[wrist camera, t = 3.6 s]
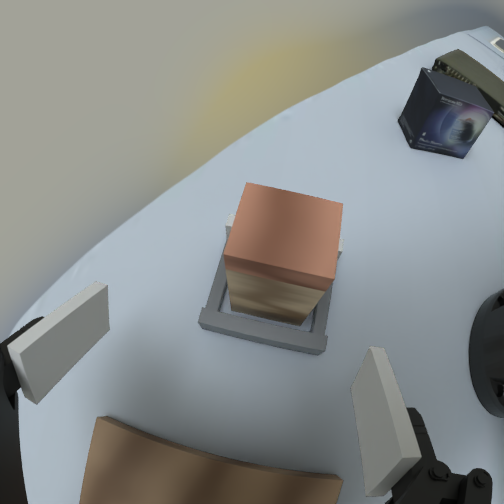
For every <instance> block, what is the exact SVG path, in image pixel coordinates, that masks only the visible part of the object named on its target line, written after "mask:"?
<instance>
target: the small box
mask: <svg viewBox="0 0 504 504" xmlns="http://www.w3.org/2000/svg"><path fill="white" fill-rule="evenodd" d="M493 114H494V111H493V110H492V108H491V107H490V105H489V104H488V103H487V101H486V100H485V98H484V97H483V96H482V94H481V93H480V91H479V90H478V89H477V87H476V86H473V85H471V84H468V83H466V82H463V81H461V80H458V79H455V78H453V77H450V76H447V75H444V74H441V73H439V72H436V71H433V70H430V69H426V68H423V67H422V68H421V71H420V74H419V77H418V79H417V81H416V83H415V86H414V88H413V90H412V92H411V95H410V97H409V99H408V101H407V103H406V105H405V108H404V110H403V112H402V114H401V116H400V117H399V119H398V121H399V124H400V125H401V127H402V130H403V132H404V134H405V136H406V139H407V141H408V143H409V145H410V147H411V148H415V149H421V150H426V151H431V152H435V153H440V154H445V155H449V156H454V157H458V158H462V159H463V158H464V157H465V155H466V154H467V153H468V151H469V150H470V148H471V147H472V145H473V144H474V142H475V141H476V140H477V138H478V137H479V135H480V134H481V132H482V131H483V129H484V128H485V126H486V125H487V123H488V122H489V120H490V119H491V117H492V116H493Z"/></svg>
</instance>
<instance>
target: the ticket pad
mask: <svg viewBox="0 0 504 504" xmlns="http://www.w3.org/2000/svg"><path fill="white" fill-rule="evenodd" d="M342 209H343V204H342V203H338V202H334V201H330V200H326V199H322V198H317V197H313V196H309V195H304V194H300V193H295V192H291V191H286V190H282V189H277V188H272V187H267V186H263V185H258V184H253V183H247V182H246V185H245V188H244V191H243V194H242V197H241V200H240V203H239V207H238V210H237V213H236V216H235V219H234V222H233V225H232V228H231V231H230V235H229V238H228V241H227V244H226V247H225V250H224V254H223V255H224V262H225V269H226V276H227V283H228V290H229V296H230V303H231V310H232V311H236V312H240V313H244V314H248V315H252V316H257V317H261V318H265V319H270V320H274V321H279V322H283V323H288V324H292V325H297V326H300V325H301V324H302V323H303V321H304V320H305V319H306V318H307V316H308V315H309V314H310V312H311V311H312V310H313V308H314V307H315V305H316V304H317V303H318V301H319V300H320V299H321V297H322V296H323V295H324V293H325V292H326V290H327V289H328V288H329V286H330V285H331V283H332V282H333V281H334V279H335V272H336V264H337V256H338V248H339V239H340V229H341V219H342Z"/></svg>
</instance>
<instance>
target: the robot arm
mask: <svg viewBox="0 0 504 504" xmlns="http://www.w3.org/2000/svg"><path fill="white" fill-rule="evenodd" d="M109 330H110V327H109V309H108V285H106V284H103V283H100V282H97V281H96V282H94V283H93V284H91V285H90V286H88V287H87V288H85V289H84V290H83V291H81V292H80V293H78V294H77V295H75V296H74V297H72V298H71V299H70V300H68V301H67V302H65V303H64V304H63V305H61V306H60V307H58V308H57V309H56V310H54V311H53V312H51V313H50V314H49V315H47V316H46V317H43V316H42V317H39V318H36V319H33V320H32V321H30V322H29V323H28V324H26V325H25V326H23V327H22V328H21V329H20V330H19V331H17V332H15V333H14V334H13V335H11V336H10V337H9V338H7V339H6V340H5V341H3V342H2V343H1V344H0V504H28V501H27V496H26V490H25V484H24V477H23V470H22V461H21V451H20V438H19V416H18V393H17V390H18V389H19V388H20V387H21V389H22V391H23V394H24V396H25V397H26V398H27V399H29V400H30V401H32V402H33V403H35V404H36V405H37V404H38V403H39V402H40V401H41V400H42V399H43V398H44V397H45V396H46V395H47V394H48V392H49V391H50V390H51V389H52V388H53V387H54V386H55V385H56V384H57V383H58V382H59V381H60V380H61V379H62V378H63V377H64V376H65V375H66V374H67V373H68V372H69V370H70V369H71V368H72V367H73V366H74V365H75V364H76V363H77V362H78V361H79V360H80V359H81V358H82V357H83V356H84V355H85V354H86V353H87V352H88V351H89V350H90V349H91V348H92V347H93V346H94V345H95V344H96V343H97V342H98V341H99V340H100V339H101V338H102V337H103V336H104V335H105V334H106V333H107V332H108V331H109ZM470 368H471V375H472V380H473V384H474V387H475V390H476V393H477V395H478V398H479V399H480V401H481V403H482V404H483V406H484V407H485V408H486V409H487V410H488V411H489V412H490V413H491V414H493V415H495V416H497V417H501V418H504V289H502V290H500V291H498V292H497V293H495V294H493V295H492V296H490V297H489V298H488V299H487V300H486V301H485V302H484V303H483V305H482V306H481V308H480V309H479V311H478V313H477V316H476V318H475V321H474V324H473V328H472V333H471V340H470ZM351 394H352V400H353V405H354V412H355V418H356V424H357V431H358V437H359V444H360V452H361V459H362V467H363V476H364V484H365V494H366V497H374V496H384V495H385V494H386V493H387V492H388V491H390V490H392V496H393V497H391V498H390V499H389V500H388V501H387V502H386V503H385V504H491V499H492V484H493V483H492V478H491V476H490V474H489V473H488V472H487V471H486V470H484V469H481V468H476V469H473V470H472V471H471V472H470V473H469V474H468V475H467V476H466V475H460V474H455V473H451V470H450V469H449V467H448V466H447V465H446V464H444V463H443V462H441V461H438V460H437V459H436V456H435V453H434V450H433V447H432V444H431V441H430V438H429V435H428V434H427V433H428V432H427V430H426V427H425V424H424V421H423V419H422V416H421V415H420V414H419V412H418V411H417V410H416V409H415V408H407V407H406V406H405V403H404V400H403V397H402V394H401V392H400V389H399V386H398V383H397V381H396V378H395V375H394V372H393V370H392V367H391V365H390V362H389V359H388V357H387V354H386V352H385V349H384V348H380V347H373V346H370V347H369V350H368V352H367V354H366V356H365V359H364V361H363V363H362V365H361V367H360V370H359V372H358V374H357V376H356V378H355V380H354V382H353V384H352V386H351Z"/></svg>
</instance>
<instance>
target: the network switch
mask: <svg viewBox="0 0 504 504" xmlns="http://www.w3.org/2000/svg"><path fill="white" fill-rule="evenodd" d="M442 69H443V71H442ZM432 70H433V71H436V72H439V73H441V74H444V75H447V76H450V77H453V78H455V79H458V80H461V81H463V82H466V83H468V84H471V85H473V86H476V87H477V89H478V90H479V91H480V93H481V94H482V96H483V97H484V98H485V100H486V101H487V103H488V104H489V105H490V107H491V108H492V110H493V111H494V114H493V116H494V117H495V118H496V120H497V121H498V120H499V122H500V123H501V124H502V125H504V82H503V81H502V80H501V79H500V78H499V77H497V76H496V75H495V74H493V73H492V72H491V71H490V70H488V69H487V68H486V67H484V66H483V65H482V64H480V63H479V62H478V61H476V60H475V59H473V58H472V57H470V56H469V55H467V54H466V53H465V52H463V51H461V50H459V49H457V50H454V51H451V52H449V53H447V54H445V55H442V56H441V57H438V58H437V59H436V60H435V63H434V66H433V67H432Z"/></svg>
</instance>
